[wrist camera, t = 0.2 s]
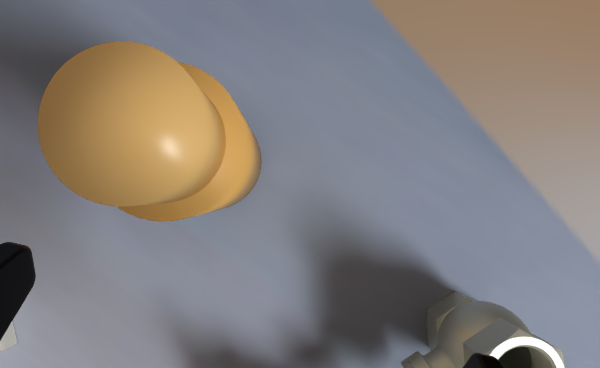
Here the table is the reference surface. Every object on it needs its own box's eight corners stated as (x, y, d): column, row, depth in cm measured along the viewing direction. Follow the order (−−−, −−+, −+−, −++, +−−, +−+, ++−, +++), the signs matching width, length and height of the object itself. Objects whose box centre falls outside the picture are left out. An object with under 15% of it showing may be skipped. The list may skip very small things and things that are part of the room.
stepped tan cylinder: (271, 197, 23) (251, 203, 10) (175, 219, 23) (38, 253, 10) (249, 102, 23) (203, -4, 10) (153, 124, 23) (-9, 42, 10)
